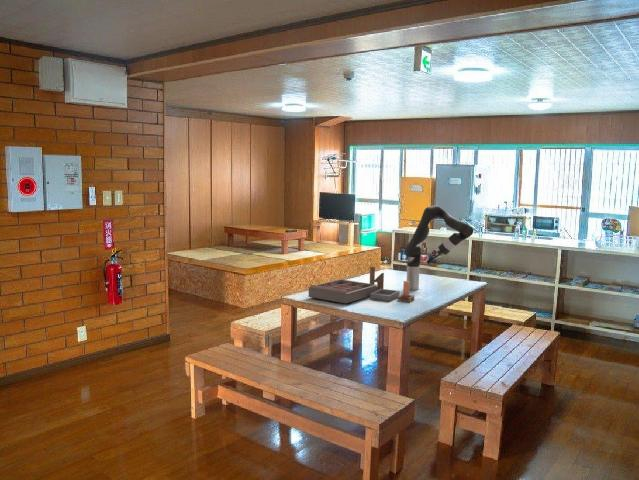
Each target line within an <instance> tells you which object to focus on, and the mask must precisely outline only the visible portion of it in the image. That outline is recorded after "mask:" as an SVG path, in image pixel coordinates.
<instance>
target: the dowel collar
mask: <svg viewBox="0 0 639 480" xmlns="http://www.w3.org/2000/svg"><path fill="white" fill-rule="evenodd" d="M414 300H415V295H412V294H409V297H403V293H401V294H400V296H398V298H397V302H404V303H411V302H413V301H414Z"/></svg>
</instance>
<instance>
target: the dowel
mask: <svg viewBox="0 0 639 480" xmlns="http://www.w3.org/2000/svg"><path fill="white" fill-rule="evenodd" d="M409 284H410V282H409V281H407V280H404V281H403V285H402V286H403V287H402V288H403V291H402V294H403V297H409V295H410V289H409Z"/></svg>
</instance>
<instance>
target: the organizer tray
mask: <svg viewBox="0 0 639 480" xmlns="http://www.w3.org/2000/svg"><path fill="white" fill-rule="evenodd" d="M376 286H377V283H375V284H370V282H369V283H367V282H360V281H354V280H347V279H336V280H332V281H329V282H323V283H320V284H309V286H308V287H307V288H308V297H309V298H312V299H313V298H314V299H320V300H323V301H328V302H330V301H331V302H336V303H342V304H348V303H349V304H350V303H352V302H355V301H359V300H362V299H364V298H369V297H370V294H371V293H373V292H375V291H376Z"/></svg>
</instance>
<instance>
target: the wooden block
mask: <svg viewBox="0 0 639 480" xmlns="http://www.w3.org/2000/svg"><path fill="white" fill-rule="evenodd" d="M375 274H376V266H372V265H370V266H369V284H376V285H377V286H376V291H377V290H379V289H384V286H385V285H384V284H385V283H384V279H385V272H382V273H380V274H379V275H378V276H377V277H376V278H375V276H376V275H375Z"/></svg>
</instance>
